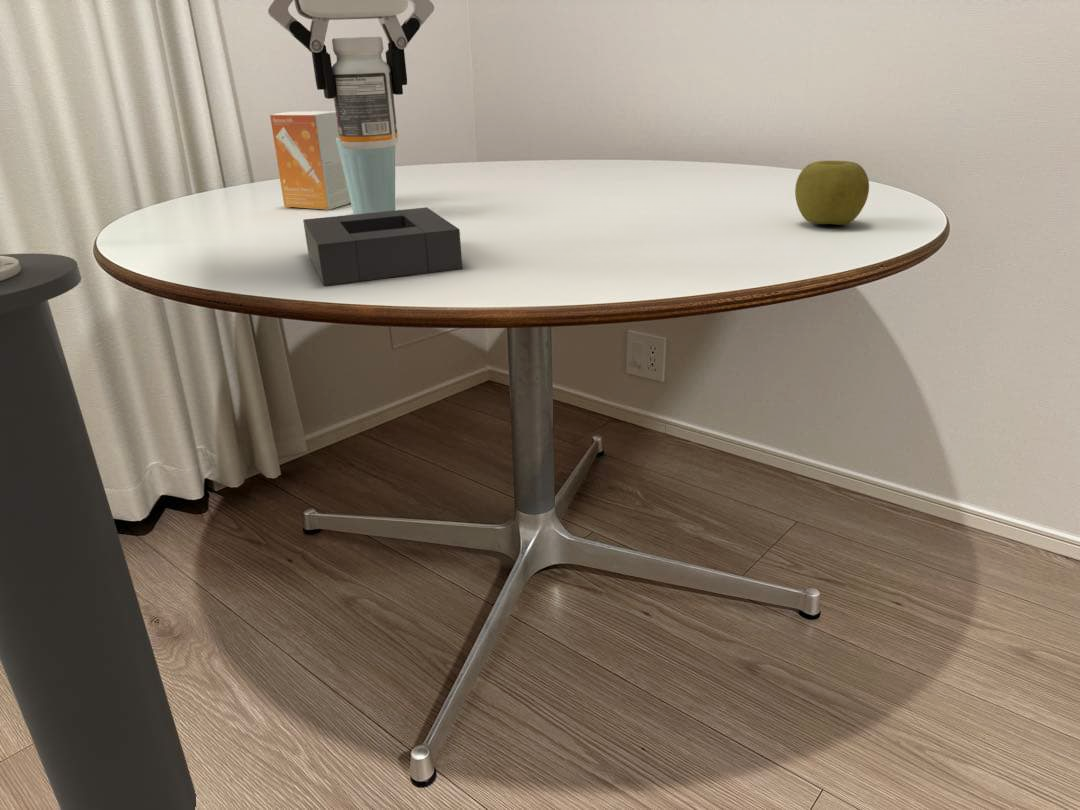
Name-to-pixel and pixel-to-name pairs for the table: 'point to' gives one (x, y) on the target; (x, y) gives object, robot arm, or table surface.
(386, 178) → the cup
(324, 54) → the robot arm
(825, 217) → the apple
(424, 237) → the dock
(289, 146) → the small box
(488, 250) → the table surface
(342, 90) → the pill bottle
